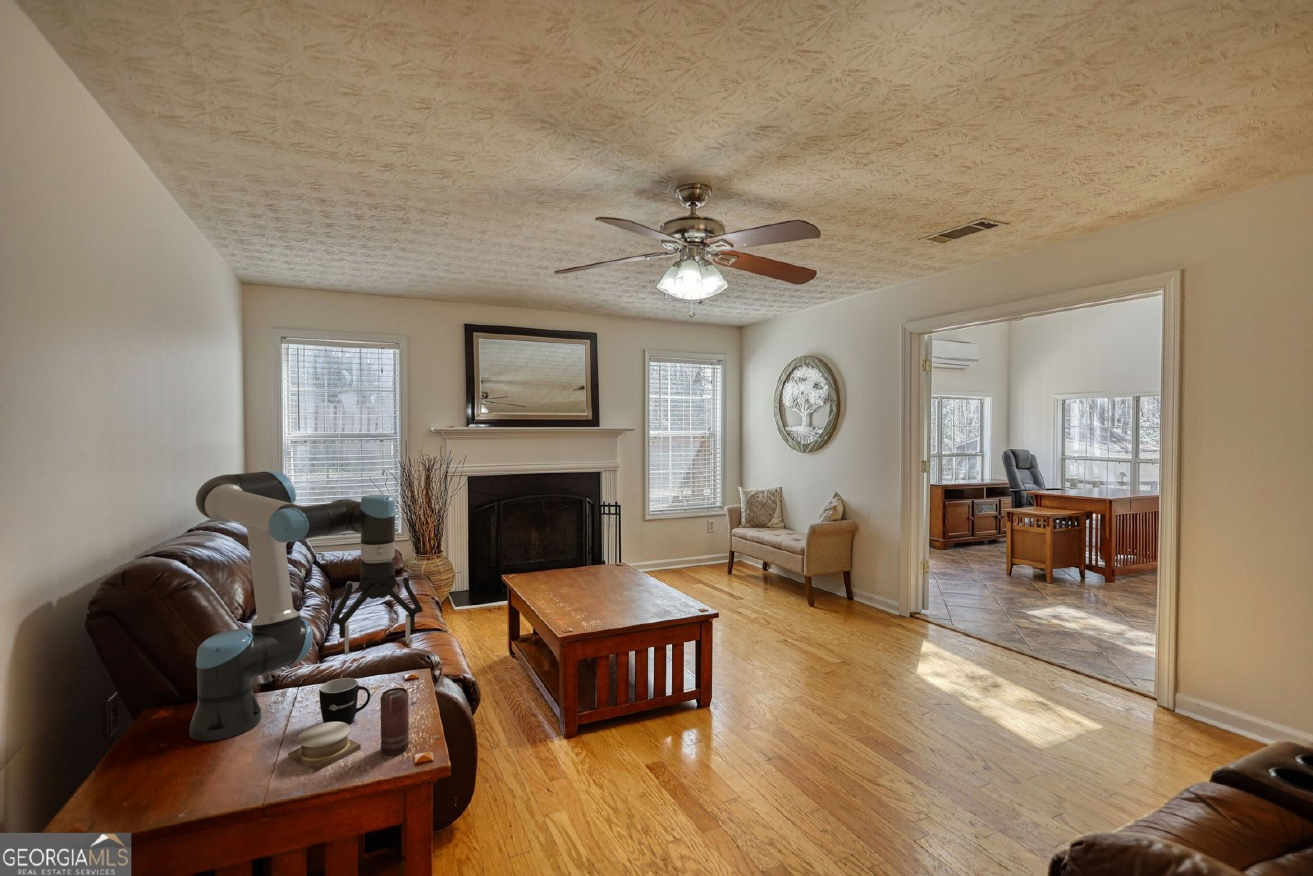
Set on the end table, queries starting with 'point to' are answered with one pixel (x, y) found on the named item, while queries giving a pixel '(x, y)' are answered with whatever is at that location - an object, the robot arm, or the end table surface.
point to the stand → (324, 745)
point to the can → (394, 721)
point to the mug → (340, 700)
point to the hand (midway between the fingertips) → (377, 646)
